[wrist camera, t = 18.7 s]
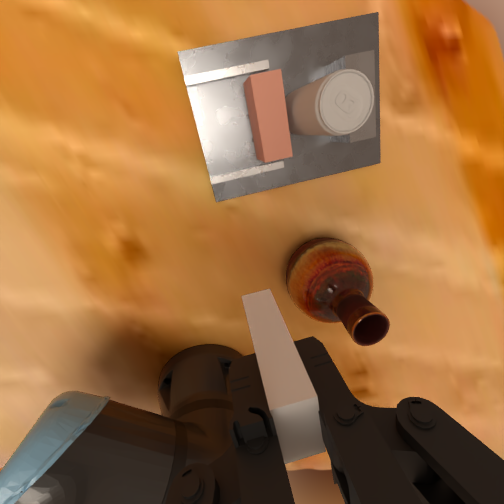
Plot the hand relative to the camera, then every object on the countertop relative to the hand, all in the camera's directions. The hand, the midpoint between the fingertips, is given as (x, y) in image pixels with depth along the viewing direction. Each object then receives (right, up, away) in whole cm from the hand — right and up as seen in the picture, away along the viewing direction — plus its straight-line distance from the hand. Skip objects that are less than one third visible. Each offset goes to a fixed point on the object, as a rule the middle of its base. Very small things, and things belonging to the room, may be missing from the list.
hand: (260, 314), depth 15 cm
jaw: (+1, +18, +18) cm, 26 cm away
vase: (+9, +1, +28) cm, 30 cm away
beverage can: (+5, +20, +19) cm, 28 cm away
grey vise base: (+5, +20, +19) cm, 28 cm away
